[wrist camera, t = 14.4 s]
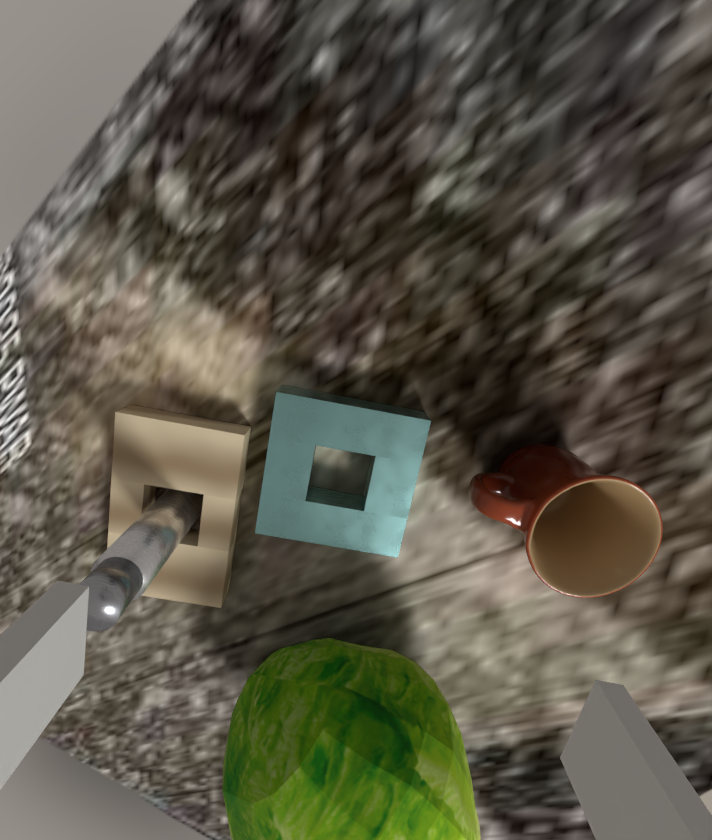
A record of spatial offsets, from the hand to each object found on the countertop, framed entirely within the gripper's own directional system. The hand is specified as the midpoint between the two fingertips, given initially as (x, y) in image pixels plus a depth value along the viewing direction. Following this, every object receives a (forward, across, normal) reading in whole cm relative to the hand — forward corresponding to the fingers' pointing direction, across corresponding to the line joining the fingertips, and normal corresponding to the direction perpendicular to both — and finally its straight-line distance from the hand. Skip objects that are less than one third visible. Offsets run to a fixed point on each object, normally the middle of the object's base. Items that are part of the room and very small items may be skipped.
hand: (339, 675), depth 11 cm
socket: (+26, 0, -5) cm, 27 cm away
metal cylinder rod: (+26, -13, -11) cm, 31 cm away
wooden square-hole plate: (+26, -13, -11) cm, 31 cm away
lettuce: (+26, +7, -27) cm, 38 cm away
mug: (+27, +15, -2) cm, 31 cm away
